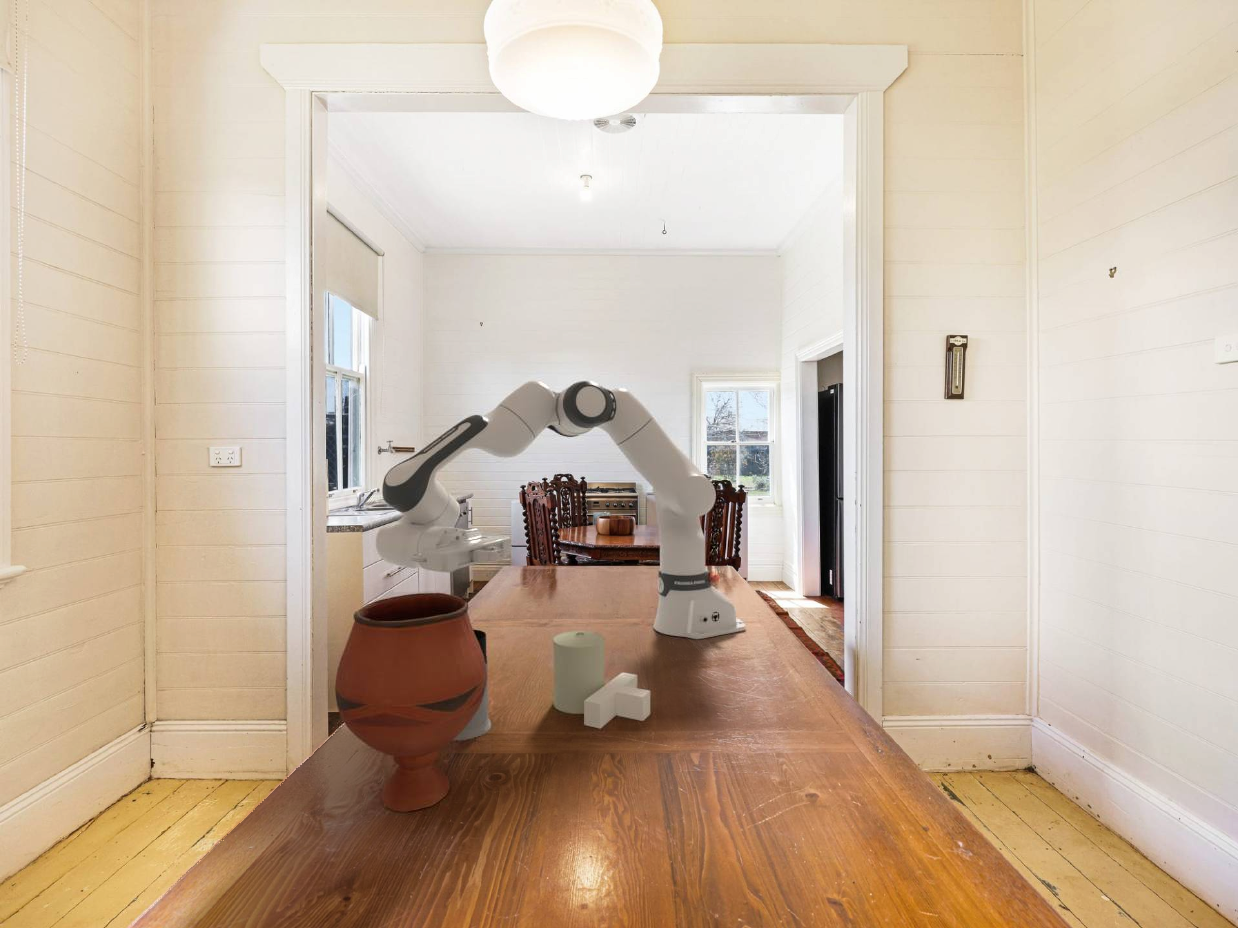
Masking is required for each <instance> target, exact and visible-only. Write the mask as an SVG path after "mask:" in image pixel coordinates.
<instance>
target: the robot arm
mask: <svg viewBox="0 0 1238 928" xmlns="http://www.w3.org/2000/svg"><path fill="white" fill-rule="evenodd" d="M595 428H598V429H599V428H600V429H602V430H603V431H604V432H606V434H608V436H610V438H611V440H612V442H614V444H615V445H616V446H617V448H618V449H619V450H620V451H621V452H622V454H623V455H624V456H625V457H626V459H627V461H628V462H630V465H632V467H633V468H634V469H635V470H636V472H638V473H639V474H640V476H642V478H644V480H646V481H647V482H648V483H649V485H650V486H651V487H652V493H653V497H654V503H655V514H656V520H657V527H658V533H659V536H658V537H659V570H658V575H657V576H658V577H657V590H658V604H657V612H656V615H655V620H654V624H653V629H654V630H655V631H656V632H659V633H660V634H664V635H669V636H672V637H673V636H676V637H684V638H689V639H693V640H701V639H707V638H712V637H716V636H721V635H727V634H733V633H737V632H743V631H746V623H745V622H744V621H742V619H740V618H738V617H737V614H736V609H735V605H734V603H733V601H732V600H731V599H730V598H729V597H727V596H726V595H725V594H723V593H722V592H721V591H719V590H718V589H717V588H716V587H715V586H713V584H712V583H719V581H720V579H721V577H720V576H719V574H716V573H715V572H713V573H710V572H709V571H708V570H707V569H706V537H705V534H704V531H703V529H702V524H701V519H700V517H701V516H704V515H707V513H709V512H710V511H711V510H712V509H713V507H714V505H715V503H716V498H717V497H716V496H717V494H716V489H715V486H714V485H713V483H712V482H711V480H710V479H709V478H707V477H706V476H705V475H704V474H703V473H702V472H701V471H700V469H699V468H698V467H697V466H696V464H694V463H693V461H692V460H691V459H690V458H689V457H688V456H687V454H685V453H684V452H683V451H682V450H681V449H680V448H679V447H678V446H677V445H676V444H675V443H674V442H673V441H672V439H671V438H670V437H669V436H668V434H667V432H665V430H664V429H663V428H662V427H661V425H660V423H658V421H657V420H656V418H655V417H654V416H653V414H652V413H651V412H650V411H649V410H648V408H646V407H645V405H644V404H643V403H642V402H641V401H640V400H639V399H638V398H637V397H635V395H634V394H633V393H631V392H630V391H629V390H628V389H626V388H622V387H617V388H614V389H611V390H610V389H607V388H606V387H603V386H602V385H600V384H598V383H597V382H594V381H590V380H581V381H577V382H575V383H573V384H571V385H570V386H568V387H566V388H565V389H563V390H561V391H560V392H556V391H554V390H552V389H551V388H550V387H549V386H548V385H546V384H545V383H543V382H541V381H537V380H529V381H527V382H525V383H523V384H522V385H521V386H519V387H518V388H516V389H515V390H513V391H512V392H511V393H510V394H508V395H507V396H506V397H505V398H504V399H502V401H501V402H500V403H498V405H497V406H496V407H495V408H493V410H491V411H490V412H487V413H485V414H483V415H480V414H473V415H469V416H468V417H466V418H464V419H463V420H461V421H460V422H458V423H456V424H455V425H454V426H452V427H451V428H450V429H448V430H446V431H445V432H444V433H442V434H441V435H440V436H438V437H437V438H436V439H435V440H433V441H432V442H431V443H429V444H428V445H426V446H425V447H424V448H422V449H420V451H418V452H417V453H415V454H414V455H413V456H410V457H409V458H407V459H405V460H403V461H401V462H399V463H398V464H396V465H395V466H393V467H391V468H390V469H389V470H388V471H387V473H386V474H385V476H384V478H383V481H382V488H381V491H382V492H381V494H382V498H383V500H384V502H385V503H386V504H388V505H389V506H390V507H391V508H393V509H394V510H396V511H397V512H399V513H400V514H401V515H402V517H401V518H399V519H398V520H397V521H395V522H393V523H391V524H387V525H384V526H382V527H381V528H380V529H379V530H378V532H377V533H376V537H375V547H376V551H377V553H378V555H379V557H380V558H381V559H382V560H383V561H384V562H386V563H388V564H391V565H395V566H397V567H403V568H408V569H420V568H421V569H423V570H424V571H425V570H426V571H431V572H438V573H446V574H450V573H453V572H455V571H457V570H459V569H464V568H465V567H470V566H473V565H477V564H481V563H485V562H493V563H494V562H499V561H503V560H506V558H507V556H509V555H511V553H512V539H511V537H509V536H507V535H504V534H499V533H493V532H486V531H479V529H478V528H475V527H469V528H468V527H467V528H466V527H464V528H459V527H457V526H458V523H459V520H460V518H461V513H462V511H461V510H462V509H461V506H460V503H459V502H458V501H457V500H456V498H454V496H453V495H452V494H451V493H450V492H449V491H448V490H447V489H446V488H445V487H444V486H442V484H441V483H440V482H439V481H438V480H437V479H436V475H437V473H438V472H439V471H441V470H442V469H443V468H444V467H446V466H447V465H449V463H451V462H452V461H453V460H455V459H456V458H457V457H459V456H460V455H461V454H463V453H465V452H466V451H467V450H468V451H469V450H470V449H471V450H472V449H478V450H481V451H484V452H486V453H487V454H490V455H492V456H495V457H498V458H502V459H503V458H507V459H508V458H514V457H517V456H519V455H520V454H522V453H524V451H525V450H527V448H528V447H529V446H530V445H531V444H533V442H534V441H535V440H536V439H537V437H539V435H540V434H541V433H542V432H543V431H544V430H545V429H549V430H550V431H552V432H554V433H556V434H558V435H560V436H562V437H567V438H573V437H574V438H575V437H578V436H580V435H584V434H587V433H588V432H590V431H592V430H593V429H595Z"/></svg>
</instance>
